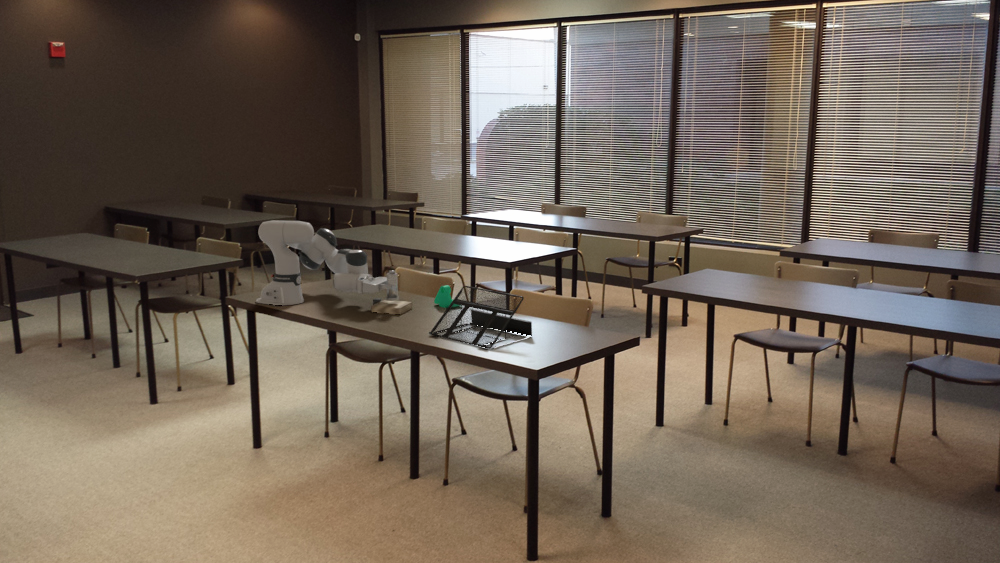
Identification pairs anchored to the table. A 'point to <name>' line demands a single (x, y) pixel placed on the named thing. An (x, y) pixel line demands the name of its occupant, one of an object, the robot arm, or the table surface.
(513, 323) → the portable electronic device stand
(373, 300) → the rubber grommet
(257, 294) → the table surface
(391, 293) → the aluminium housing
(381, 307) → the wooden stand
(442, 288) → the green toy figure
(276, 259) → the robot arm
